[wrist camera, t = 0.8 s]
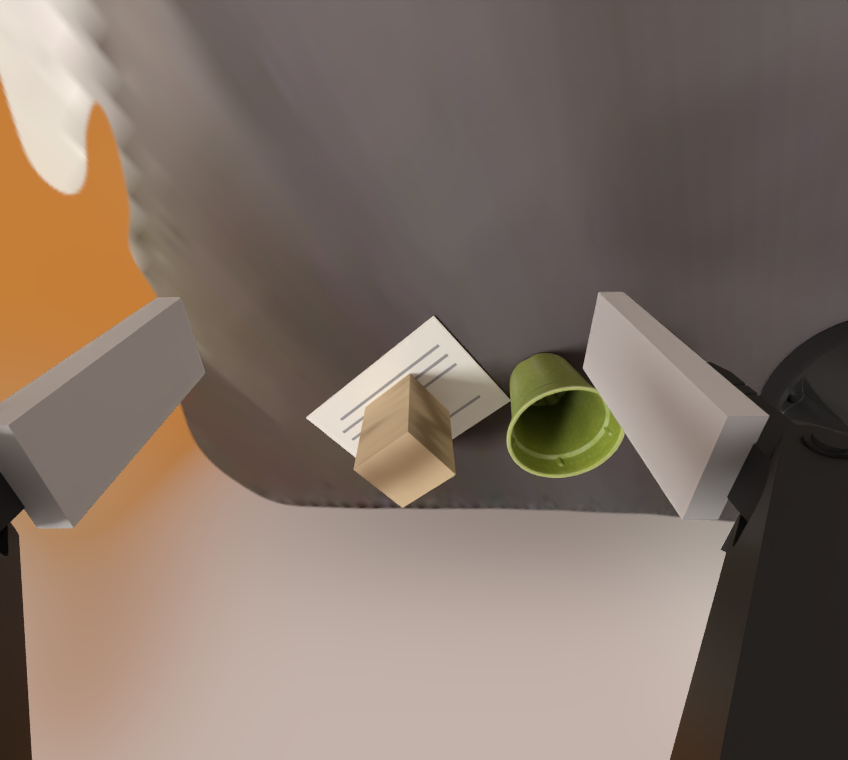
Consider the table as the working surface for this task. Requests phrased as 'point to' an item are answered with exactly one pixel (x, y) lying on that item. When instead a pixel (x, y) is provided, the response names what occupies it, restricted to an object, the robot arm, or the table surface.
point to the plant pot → (558, 419)
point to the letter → (432, 367)
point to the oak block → (405, 442)
